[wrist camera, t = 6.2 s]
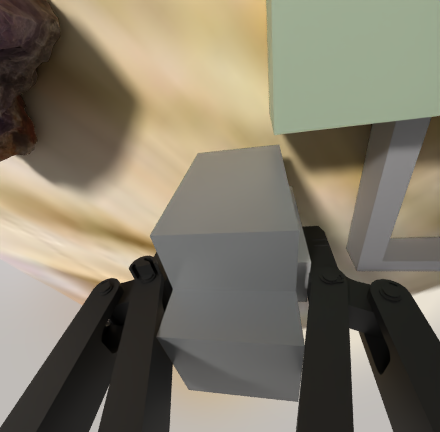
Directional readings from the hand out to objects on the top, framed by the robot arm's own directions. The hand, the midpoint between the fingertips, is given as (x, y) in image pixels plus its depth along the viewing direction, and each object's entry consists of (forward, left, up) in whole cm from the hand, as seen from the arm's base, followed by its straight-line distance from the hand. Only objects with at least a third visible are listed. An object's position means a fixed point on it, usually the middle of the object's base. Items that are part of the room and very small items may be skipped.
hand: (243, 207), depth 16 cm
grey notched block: (0, 0, 0) cm, 0 cm away
